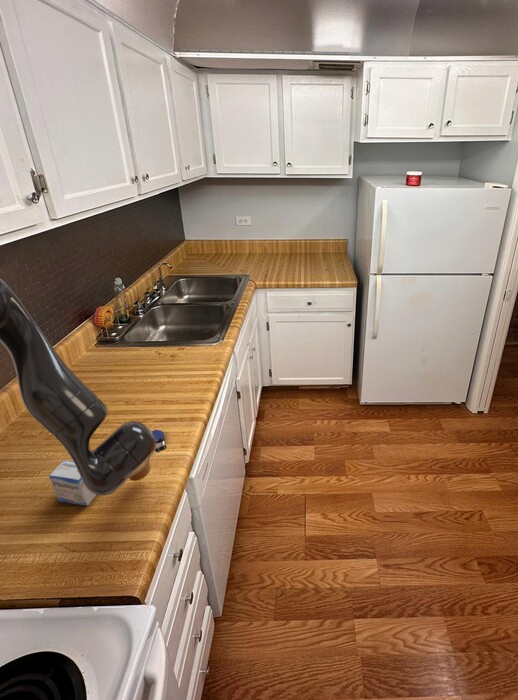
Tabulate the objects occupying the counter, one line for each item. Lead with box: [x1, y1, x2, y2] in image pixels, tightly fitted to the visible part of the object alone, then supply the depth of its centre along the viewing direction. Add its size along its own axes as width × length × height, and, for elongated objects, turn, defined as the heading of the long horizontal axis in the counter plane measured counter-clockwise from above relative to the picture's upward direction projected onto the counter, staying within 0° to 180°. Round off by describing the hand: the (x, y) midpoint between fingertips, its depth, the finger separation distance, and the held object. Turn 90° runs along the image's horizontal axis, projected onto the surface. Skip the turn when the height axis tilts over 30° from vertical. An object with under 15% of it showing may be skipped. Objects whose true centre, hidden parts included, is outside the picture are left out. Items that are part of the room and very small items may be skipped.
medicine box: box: [48, 459, 97, 507], centre depth 78 cm, size 8×4×9 cm, turn 82°
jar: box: [128, 460, 152, 482], centre depth 79 cm, size 5×5×10 cm
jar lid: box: [151, 429, 166, 441], centre depth 94 cm, size 6×6×2 cm
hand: (135, 455), depth 80 cm, fingers closed on jar, 5 cm apart
